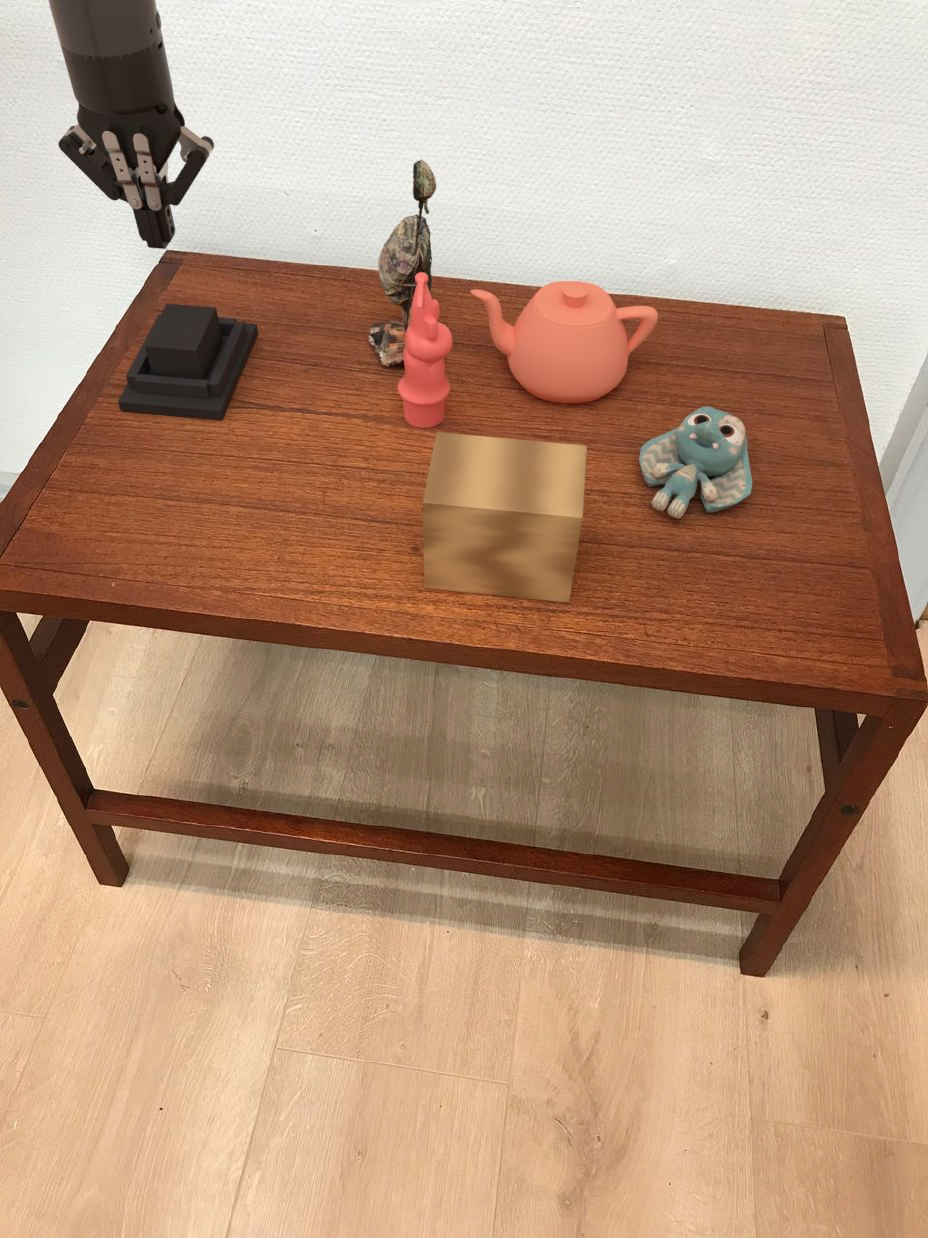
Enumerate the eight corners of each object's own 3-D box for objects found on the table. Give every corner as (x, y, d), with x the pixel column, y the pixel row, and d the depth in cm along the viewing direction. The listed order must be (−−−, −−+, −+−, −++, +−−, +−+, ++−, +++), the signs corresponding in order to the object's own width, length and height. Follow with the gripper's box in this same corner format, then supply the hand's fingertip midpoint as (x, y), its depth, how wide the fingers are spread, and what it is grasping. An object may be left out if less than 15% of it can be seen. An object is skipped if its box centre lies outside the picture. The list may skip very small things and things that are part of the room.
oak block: (424, 588, 81) (422, 502, 73) (437, 519, 86) (436, 431, 78) (569, 603, 80) (583, 517, 72) (573, 532, 85) (587, 445, 77)
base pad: (222, 420, 93) (217, 398, 91) (120, 411, 94) (113, 388, 92) (258, 333, 102) (254, 310, 100) (165, 325, 103) (159, 302, 100)
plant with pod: (451, 310, 105) (452, 120, 89) (440, 376, 98) (439, 182, 82) (376, 305, 105) (364, 115, 90) (359, 370, 98) (344, 176, 83)
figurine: (451, 433, 93) (452, 294, 81) (396, 432, 93) (390, 292, 81) (452, 399, 96) (454, 259, 84) (400, 397, 96) (394, 258, 84)
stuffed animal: (612, 456, 83) (678, 364, 87) (608, 506, 89) (671, 417, 94) (728, 508, 79) (791, 409, 84) (716, 556, 86) (776, 462, 90)
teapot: (650, 413, 95) (668, 330, 88) (465, 405, 95) (467, 322, 88) (642, 338, 102) (657, 255, 95) (470, 331, 103) (472, 248, 95)
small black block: (204, 384, 95) (196, 350, 92) (153, 380, 95) (144, 345, 92) (223, 341, 99) (216, 307, 96) (175, 337, 99) (166, 302, 96)
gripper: (4, 44, 72) (73, 260, 85) (180, 57, 71) (221, 273, 84) (43, 5, 76) (102, 216, 90) (209, 17, 76) (243, 227, 89)
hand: (160, 243), depth 87 cm, fingers closed
